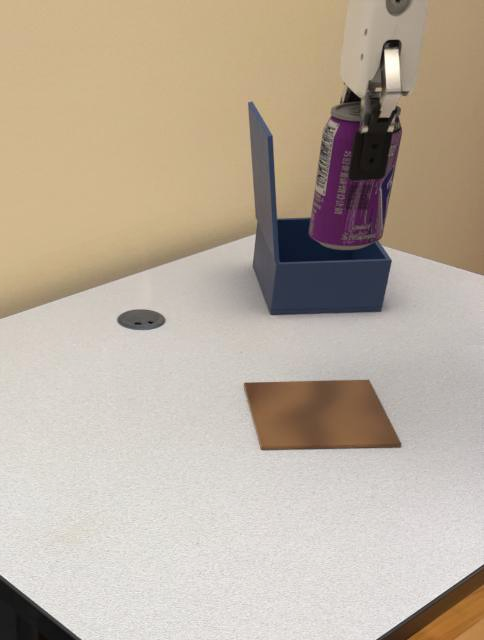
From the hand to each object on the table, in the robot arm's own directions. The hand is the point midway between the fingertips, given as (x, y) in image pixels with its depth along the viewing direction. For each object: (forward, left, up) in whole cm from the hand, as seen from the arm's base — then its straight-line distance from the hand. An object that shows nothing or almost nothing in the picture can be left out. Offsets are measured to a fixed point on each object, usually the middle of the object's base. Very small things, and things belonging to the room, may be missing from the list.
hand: (357, 165), depth 85 cm
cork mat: (+1, +6, -24) cm, 24 cm away
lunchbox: (-5, -29, -24) cm, 38 cm away
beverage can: (0, 0, -7) cm, 7 cm away
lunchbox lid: (+3, -29, -9) cm, 31 cm away
